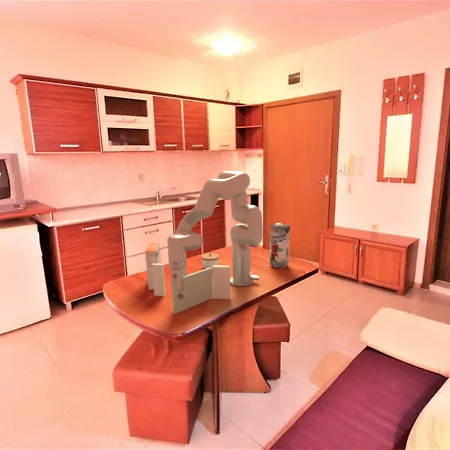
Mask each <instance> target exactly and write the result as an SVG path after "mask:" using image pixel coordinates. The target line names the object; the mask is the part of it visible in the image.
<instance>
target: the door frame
mask: <svg viewBox="0 0 450 450" xmlns="http://www.w3.org/2000/svg"><path fill="white" fill-rule="evenodd" d="M164 265H165V264H164V263H161V264H155V263H154V264H153V265H152V266H153V281H154V290H153V293H154V297H165V296H166V294H167V293H166V280H165V266H164ZM230 278H231V266H230V265H219V264H218V265H213V270H212V285H213V298H212V299H214V300H215V299H216V300H231V283H230Z"/></svg>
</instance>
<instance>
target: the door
mask: <svg viewBox="0 0 450 450" xmlns="http://www.w3.org/2000/svg"><path fill="white" fill-rule="evenodd" d="M171 282H172V289H171V297H172V298H171V299H172V313H173V314H174V315H177V314H178V313H180V312H183V311H185V310H188V309H190V308H192V307H195V306H196V305H200V304H202V303H204V302H206V301H209V300H211V299H214V298H213V270H212V268H211V267H210V268H207V269H205V268H204V269H202V270H201V269H200V270H198V271H196V272H193V273H189V274H187V275H186V276H184V277H183V290H182V291H181V290H179V289H178V287H177V280H172V281H171V280H170V283H171Z"/></svg>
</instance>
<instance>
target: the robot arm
mask: <svg viewBox="0 0 450 450" xmlns="http://www.w3.org/2000/svg"><path fill="white" fill-rule="evenodd" d="M250 183H251V179H250V175H248V173H246V172H244V171H234V170H233V171H232V170H231V171H230V170H226V171H220V173H218V176H217V178H210V179H207V180H206V181H205V183H204V185H203V188H202V189H201V192H200V194H199V196H198V198H197V200H196V202H195V205H194V207H193V208H192V209H190V210H189V212H187V213H186V214H185V215H184V217H182V219H181V220H180V222H179V224H178V226H177V228H176V231H175V233H174V234H171V235H169V236H168V237H167V255H168V256H167V257H168V268H169V269H170V289H171V290H172V282H171V281H172V280H177V287H178V289H179V290H181V291H182V290H183V277H184V276H186V275H188V274H187V251H196V250H198V249H200V248H201V247H202V246H203V244H204V237H203V236H202V235H201V234H200V233H198V232H195V231H192V229H193V227H194V226H195V225H196V224H197V223H198V222H200V221H202V220H204V219H207V218H209V217H211V216H212V215H213V212H214V210H215V208H216V205H217V203H218V200H219V199H222V200H223V199H224V200H227V199H230V208H231V211H230V212H231V217H232V220H233V221H235V222H237V223H236V224H234V225H232V227H231V228H230V234H229V235H230V240H231V245H232V246H231V247H232V250H231V251H232V277H230V285H232V286H236V287H248V285H249V286H251V285H253V283H254V281H259V280H260V276H257V275H256V274H254V275H253V274H252V272H251V264H252V263H251V251H252V250H251V247H250V246H252V247H255V246H259V245H260V244H261V243H262V240H263V236H264V234H263V233H264V231H263V229H264V228H263V215H262V211H261V209H260V208H259V207H258V206H256V205H253V204H250V203H249V201H248V193H247V189H248V188H249V185H250Z"/></svg>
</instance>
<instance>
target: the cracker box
mask: <svg viewBox="0 0 450 450" xmlns="http://www.w3.org/2000/svg"><path fill="white" fill-rule="evenodd" d="M160 244H161V243H159V242H157V243H148V245H147V247H146V249H145V253H144V255H145V262H146V263H145V264H146V265H145V266H146V273H147V274H146V276H147V289H148V291H154V281H153V266H152V265H153V264H154V263H155V264H162V259H161V258H162V257H161V245H160Z"/></svg>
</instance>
